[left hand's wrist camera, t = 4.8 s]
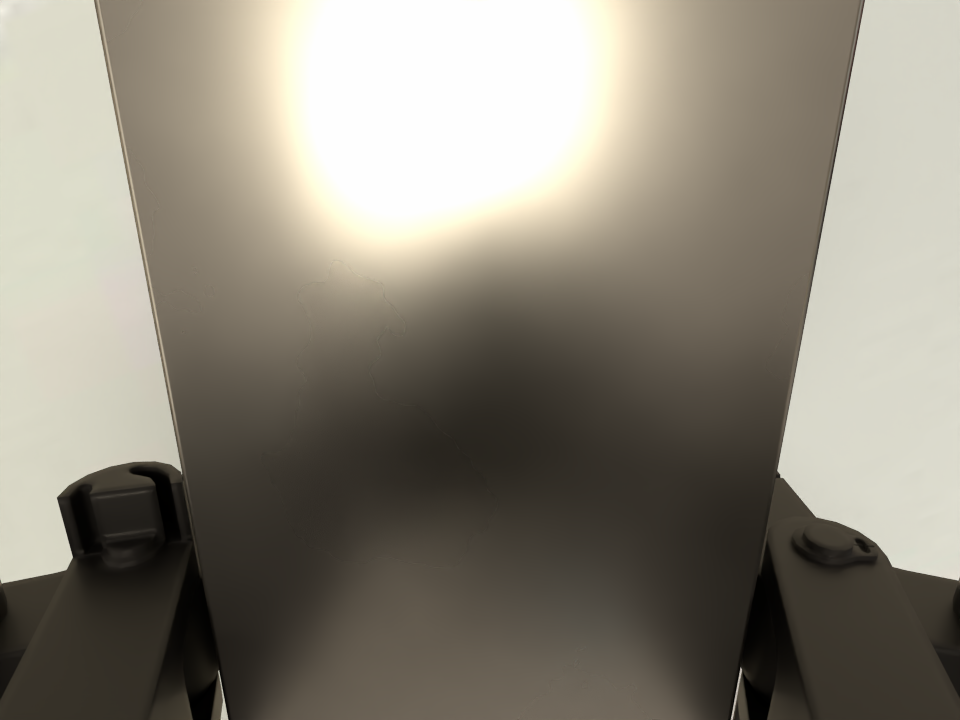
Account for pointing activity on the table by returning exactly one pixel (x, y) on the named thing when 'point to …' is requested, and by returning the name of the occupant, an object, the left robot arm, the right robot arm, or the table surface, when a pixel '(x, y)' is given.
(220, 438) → the bar
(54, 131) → the table surface
